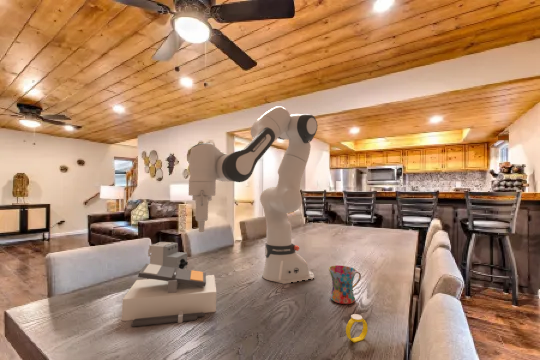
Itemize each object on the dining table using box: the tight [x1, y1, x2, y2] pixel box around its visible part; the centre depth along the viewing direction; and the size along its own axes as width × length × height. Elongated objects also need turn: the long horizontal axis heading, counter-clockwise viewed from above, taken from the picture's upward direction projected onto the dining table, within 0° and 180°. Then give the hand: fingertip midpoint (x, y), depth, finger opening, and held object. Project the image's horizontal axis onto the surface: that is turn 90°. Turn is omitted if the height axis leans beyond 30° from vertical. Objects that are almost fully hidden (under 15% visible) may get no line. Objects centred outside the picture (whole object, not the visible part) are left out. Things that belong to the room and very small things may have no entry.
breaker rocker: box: [137, 263, 207, 286], centre depth 84 cm, size 20×10×2 cm, turn 104°
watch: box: [345, 313, 369, 344], centre depth 65 cm, size 6×3×6 cm, turn 114°
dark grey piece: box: [131, 311, 205, 328], centre depth 73 cm, size 19×3×2 cm, turn 104°
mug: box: [328, 264, 362, 305], centre depth 89 cm, size 12×9×11 cm
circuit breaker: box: [146, 241, 189, 279], centre depth 103 cm, size 8×14×15 cm, turn 78°
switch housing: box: [121, 268, 217, 322], centre depth 84 cm, size 26×16×10 cm, turn 104°
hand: (201, 231), depth 87 cm, fingers closed
